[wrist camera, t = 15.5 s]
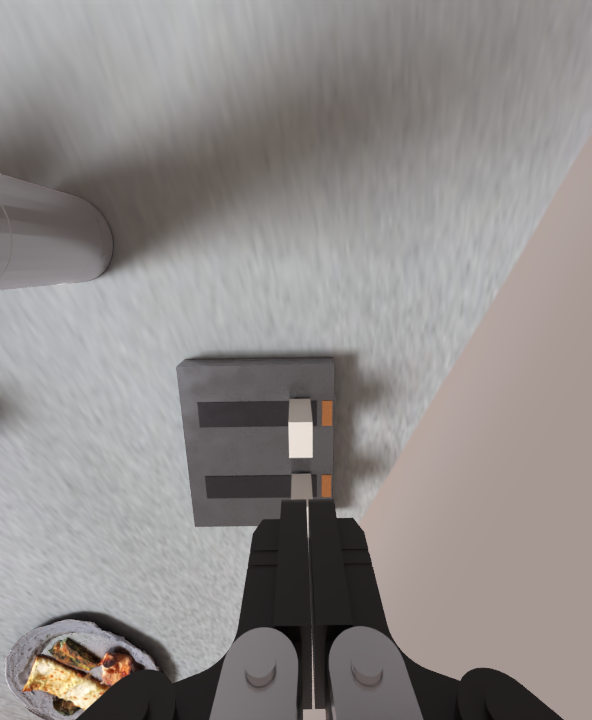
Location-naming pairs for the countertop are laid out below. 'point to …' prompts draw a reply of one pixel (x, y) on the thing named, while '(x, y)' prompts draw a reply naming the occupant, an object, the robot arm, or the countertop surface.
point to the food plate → (69, 668)
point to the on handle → (300, 429)
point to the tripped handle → (301, 488)
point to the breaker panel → (252, 434)
